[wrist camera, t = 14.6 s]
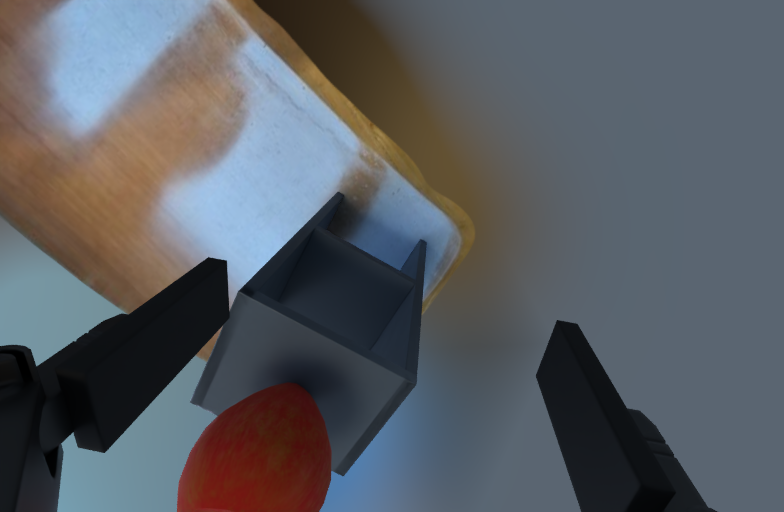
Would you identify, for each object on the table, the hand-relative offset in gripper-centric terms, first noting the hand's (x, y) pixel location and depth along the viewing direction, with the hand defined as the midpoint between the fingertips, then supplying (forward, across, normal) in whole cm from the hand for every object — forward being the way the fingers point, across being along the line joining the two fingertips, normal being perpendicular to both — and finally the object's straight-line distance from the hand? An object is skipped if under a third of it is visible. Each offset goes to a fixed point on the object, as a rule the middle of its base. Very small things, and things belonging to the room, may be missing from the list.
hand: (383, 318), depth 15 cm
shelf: (+36, -6, -14) cm, 39 cm away
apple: (+8, -6, -14) cm, 17 cm away
